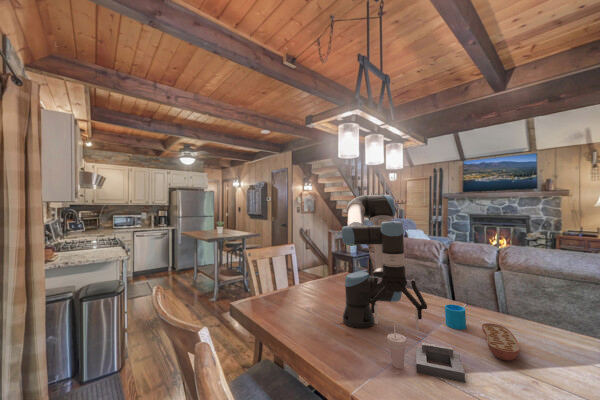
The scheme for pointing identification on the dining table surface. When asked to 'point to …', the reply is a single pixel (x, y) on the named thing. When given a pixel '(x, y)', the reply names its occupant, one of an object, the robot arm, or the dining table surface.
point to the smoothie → (397, 348)
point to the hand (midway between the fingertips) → (396, 325)
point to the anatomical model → (501, 341)
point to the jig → (439, 355)
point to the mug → (455, 316)
